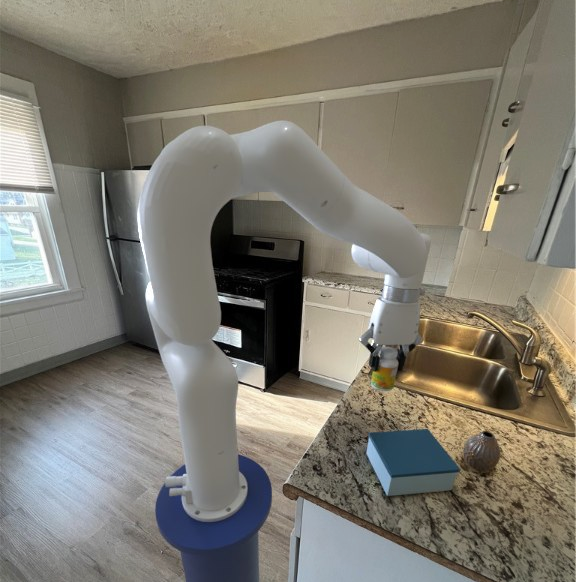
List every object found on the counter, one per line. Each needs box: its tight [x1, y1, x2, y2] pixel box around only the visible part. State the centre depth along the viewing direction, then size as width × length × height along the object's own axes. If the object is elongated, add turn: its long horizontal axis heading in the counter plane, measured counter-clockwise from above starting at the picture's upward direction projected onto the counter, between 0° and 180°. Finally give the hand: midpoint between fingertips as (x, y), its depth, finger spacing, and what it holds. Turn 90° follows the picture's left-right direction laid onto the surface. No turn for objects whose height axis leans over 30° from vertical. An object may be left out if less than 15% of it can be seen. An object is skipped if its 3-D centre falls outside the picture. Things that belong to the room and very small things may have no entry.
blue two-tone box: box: [366, 428, 462, 497], centre depth 68 cm, size 14×12×6 cm
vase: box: [462, 430, 501, 472], centre depth 69 cm, size 7×7×9 cm
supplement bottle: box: [370, 346, 399, 392], centre depth 75 cm, size 5×5×10 cm
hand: (385, 368), depth 74 cm, fingers closed on supplement bottle, 5 cm apart
